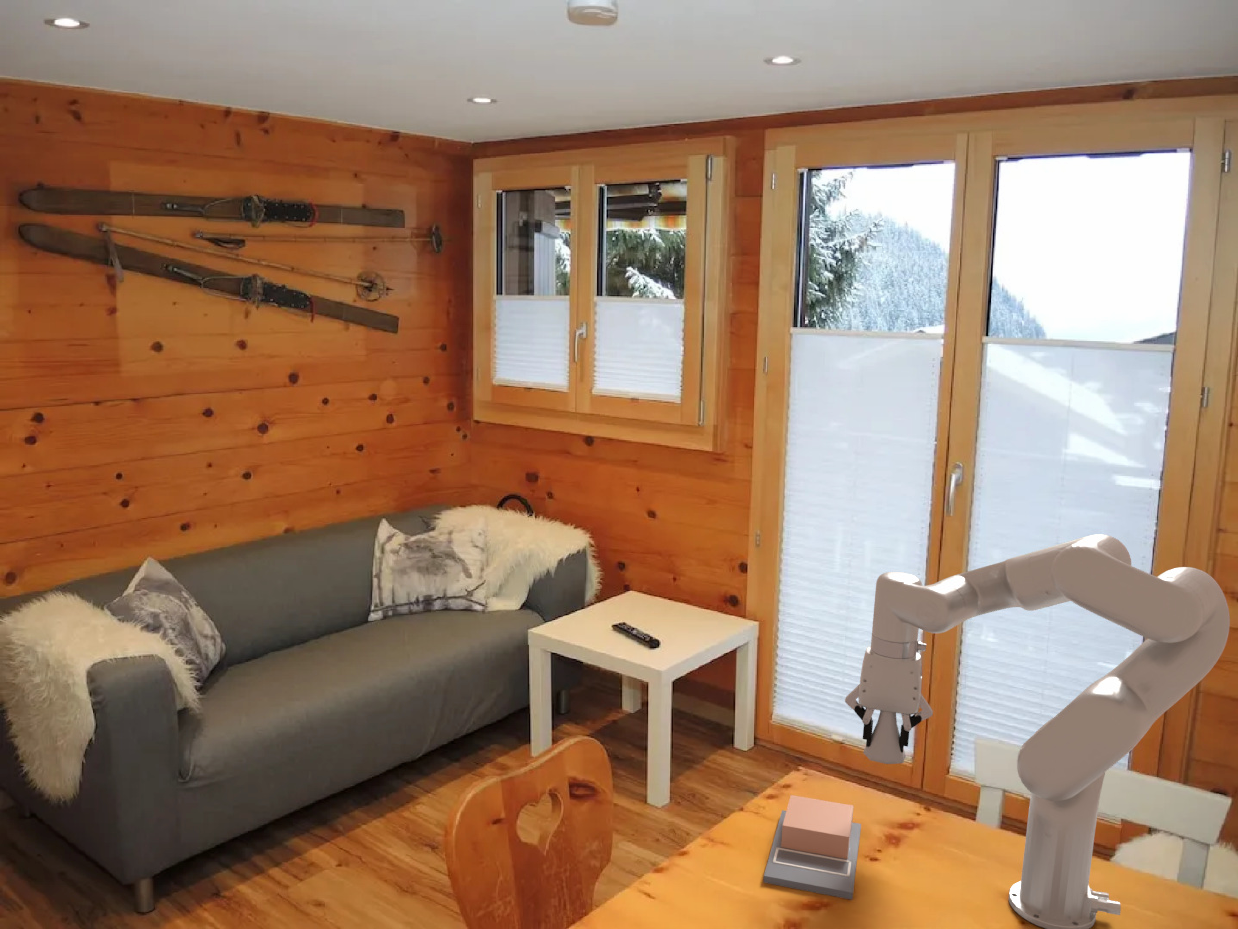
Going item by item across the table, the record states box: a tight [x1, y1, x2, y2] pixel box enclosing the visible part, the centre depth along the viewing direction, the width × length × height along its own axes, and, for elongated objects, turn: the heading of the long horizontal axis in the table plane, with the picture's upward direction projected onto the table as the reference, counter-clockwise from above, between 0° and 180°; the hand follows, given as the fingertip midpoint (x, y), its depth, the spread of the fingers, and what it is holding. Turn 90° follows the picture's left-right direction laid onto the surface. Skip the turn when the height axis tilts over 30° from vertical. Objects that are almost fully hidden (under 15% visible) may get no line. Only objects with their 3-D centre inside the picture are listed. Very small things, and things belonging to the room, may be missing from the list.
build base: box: [763, 794, 862, 900], centre depth 172 cm, size 14×22×5 cm, turn 163°
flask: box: [862, 710, 907, 765], centre depth 174 cm, size 7×7×10 cm
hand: (884, 745), depth 175 cm, fingers closed on flask, 4 cm apart
